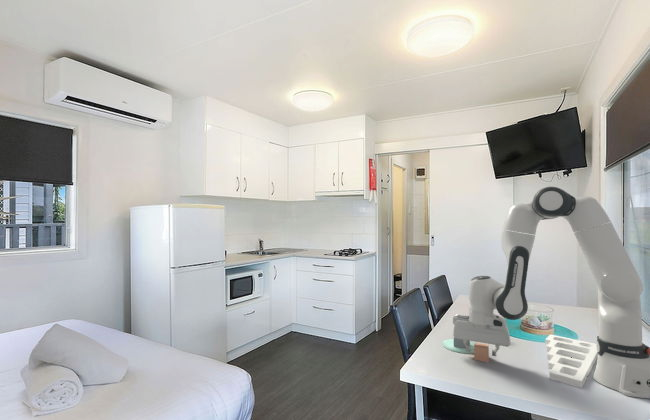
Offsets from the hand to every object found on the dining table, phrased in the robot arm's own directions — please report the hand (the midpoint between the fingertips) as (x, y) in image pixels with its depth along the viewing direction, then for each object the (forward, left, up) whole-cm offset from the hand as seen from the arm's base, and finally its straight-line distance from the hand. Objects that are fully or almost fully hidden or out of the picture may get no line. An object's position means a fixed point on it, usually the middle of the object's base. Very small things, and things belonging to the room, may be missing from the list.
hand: (481, 353), depth 133 cm
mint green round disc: (+8, -10, -2) cm, 13 cm away
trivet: (-29, -14, -3) cm, 32 cm away
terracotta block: (0, 0, -2) cm, 2 cm away
